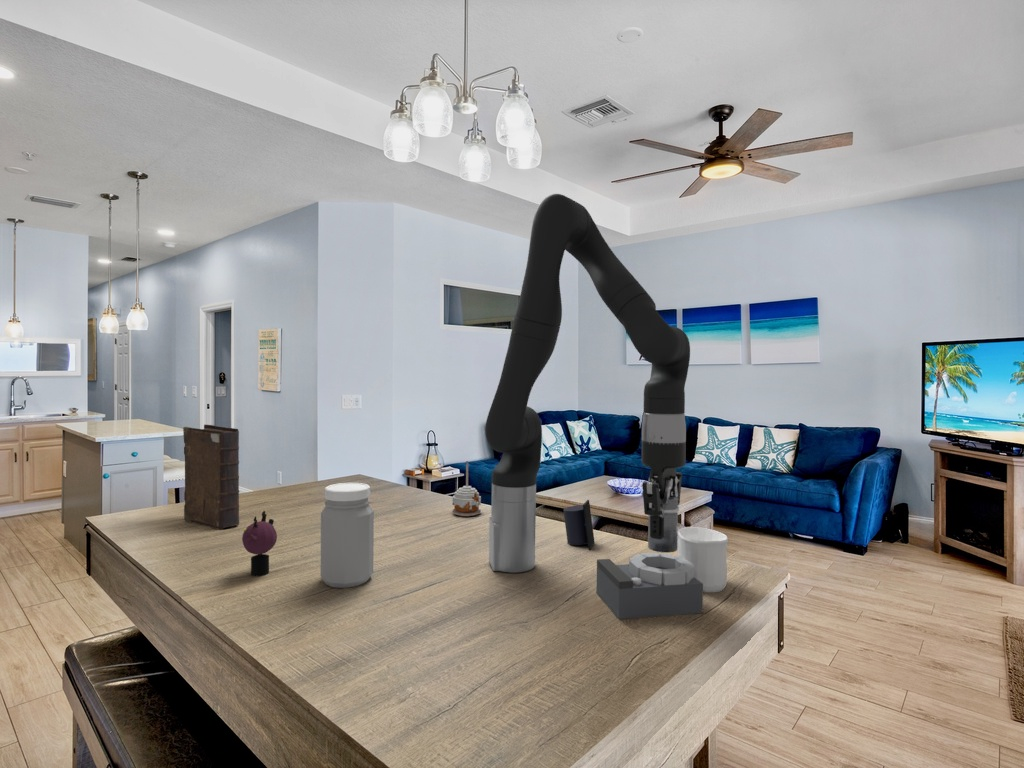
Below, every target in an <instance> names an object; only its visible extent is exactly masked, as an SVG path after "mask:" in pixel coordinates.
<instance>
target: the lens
mask: <svg viewBox="0 0 1024 768" xmlns="http://www.w3.org/2000/svg"><path fill="white" fill-rule="evenodd" d="M660 499H663V498H661V497H660ZM649 504H650V503H649ZM654 509H655V504H654ZM679 511H680V508H679V505H678V498H677V497H674V496H672V495H670V496H669V503H668V505H665V512H664V517H663V518H664V537H663V538H662V539H654V538H651V537H650V516H649V515H647V516H648V517H647V518H648V519H647V520H648V521H647V523H648V525H647V526H648V527H647V528H648V531H647V534H648V535H647V536H648V538H647V541H648V543H647V548H648V549H649V550H651V551H654V552H656V553H665V554H669V553H674V552H678V538H679V537H678V531H679V529H678V527H679V525H678V524H679V522H678V521H679V516H678V515H679V514H678V513H679Z"/></svg>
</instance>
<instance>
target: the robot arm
mask: <svg viewBox="0 0 1024 768" xmlns="http://www.w3.org/2000/svg"><path fill="white" fill-rule="evenodd" d="M532 219H533V220H532V225H531V232H530V239H529V247H528V254H527V261H526V262H527V263H526V266H525V267H526V268H525V272H524V275H523V276H524V277H523V281H522V285H521V289H520V290H521V291H520V295H519V298H518V299H519V300H518V303H517V307H516V311H515V315H514V320H513V323H512V328H511V333H510V337H509V342H508V347H507V351H506V353H505V358H504V361H503V365H502V371H501V375H500V379H499V382H498V385H497V388H496V391H495V394H494V396H493V399H492V403H491V404H490V405H491V406H490V409H489V411H488V414H487V418H486V422H485V427H484V428H485V429H484V431H485V438H486V441H487V443H488V444H489V446H490V448H492V450H494V451H496V452H499V453H502V455H501V459H500V461H499V462H498V463H497V465H496V466H495V467H494V468H493V469H492V471H491V513H490V514H491V515H490V517H489V526H488V530H489V531H488V535H489V537H488V538H489V539H488V562H489V565H490V566H491V569H492V571H493V572H503V573H523V572H528V571H531V570H533V569H534V568H535V566H536V521H537V520H536V517H537V515H536V513H537V511H536V507H537V503H536V501H537V477H538V473H539V471H540V466H541V460H542V459H541V457H542V443H543V442H542V441H543V440H542V439H543V428H542V421H541V419H540V416H539V414H538V413H537V411H536V410H534V409H533V408H532V407H530V406H528V402H529V399H530V395H531V392H532V390H533V387H534V384H535V383H536V381H537V380H538V378H539V376H540V374H541V373H542V372H543V370H544V369H545V367H546V365H547V364H548V363H549V360H551V356H552V355H553V353H554V351H555V347H556V344H557V341H558V336H559V333H560V329H561V324H562V317H563V307H562V306H563V305H562V294H561V287H560V276H561V266H562V263H563V259H564V258H563V257H564V254H565V252H567V253H568V254H570V255H571V256H572V257H573V258H575V259H576V261H578V262H579V263H580V264H581V266H582V267H583V268H584V269H585V270H586V272H587V273H588V275H589V276H590V279H591V282H592V283H593V285H594V287H595V289H596V291H597V293H598V295H599V296H600V298H601V300H602V302H603V303H604V304H605V306H606V307H607V308H608V309H609V310H610V312H611V313H612V314H613V316H614V317H615V318H616V319H617V320H618V322H619V323H621V325H622V326H623V328H624V330H625V332H626V333H627V336H628V338H629V339H630V341H631V343H632V344H633V346H634V348H635V349H636V351H637V352H638V353H639V355H640V356H641V357H642V358H643V359H644V360H645V361H647V362H648V363H650V364H651V373H650V379H649V380H648V381H646V383H645V384H644V389H643V413H642V414H643V417H642V421H641V464H642V465H644V466H645V467H649V468H650V472H649V476H648V481H643V482H642V498H643V511H644V515H647V516H648V515H649V516H650V537H651V538H654V539H662V538H663V537H664V518H663V517H664V512H665V505H668V503H669V496H670V495H672V496H674V497H677V498H678V506H679V505H680V503H681V491H682V479H683V473H682V472H681V471H680V472H678V471H677V469H680V468H683V467H684V466H685V465H686V461H687V460H686V459H687V457H686V455H687V453H686V451H687V448H686V447H687V445H686V444H687V443H686V442H687V425H686V424H687V423H686V417H685V413H686V411H685V407H686V404H685V403H686V402H685V401H686V400H685V399H686V392H685V389H686V388H685V387H686V381H687V378H688V372H689V367H690V366H689V365H690V360H691V345H690V340H689V337H688V335H687V333H686V332H685V331H684V330H682V329H681V328H679V327H676V326H671V325H669V323H668V322H666V320H664V318H663V316H662V315H661V314H660V313H659V312H658V311H657V310H656V309H657V308H656V303H655V301H654V299H653V298H652V296H651V295H650V294H649V293H648V292H647V290H645V288H644V287H643V286H642V285H641V284H640V283H639V281H638V280H637V279H636V278H635V277H634V275H633V274H632V273H631V272H630V270H628V268H627V267H626V266H625V265H624V264H623V263H622V261H621V260H620V259H619V258H618V257H617V255H616V254H615V253H614V252H613V250H612V249H611V248H610V247H611V246H609V244H608V243H607V242H606V239H604V236H603V235H602V233H601V231H600V230H599V228H598V226H597V225H596V223H595V220H593V217H592V216H591V214H590V213H589V211H588V209H587V208H586V207H585V206H584V205H582V204H581V203H579V202H577V201H575V200H573V199H572V198H570V197H568V196H566V195H564V194H561V193H552V194H549V195H548V196H545V198H543V200H542V201H541V202H540V203H539V204H538V206H537V208H536V210H535V213H534V216H533V218H532ZM660 497H661V498H663V499H660ZM649 503H650V504H649ZM654 504H655V509H654Z"/></svg>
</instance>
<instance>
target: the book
mask: <svg viewBox="0 0 1024 768" xmlns="http://www.w3.org/2000/svg"><path fill="white" fill-rule="evenodd" d="M182 429H183V430H182V432H183V433H182V434H183V444H184V446H183V454H184V492H183V495H184V496H183V499H184V506H183V507H184V508H183V520H184V521H186V522H188V523H192V524H193V523H194V524H199V525H203V526H208V527H210V528H212V529H215V530H222V529H225V528H230V527H235V526H237V525H238V526H239V525H240V504H239V503H240V501H239V500H240V490H239V489H240V487H239V486H240V482H239V481H240V479H239V478H240V475H239V474H240V473H239V469H240V468H239V464H240V460H239V459H240V457H239V455H240V454H239V452H240V445H239V444H240V439H239V438H240V436H239V435H240V431H239V429H238V428H233V427H224V426H217V425H212V424H204V425H203V428H197V427H189V426H184V427H182Z"/></svg>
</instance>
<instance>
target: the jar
mask: <svg viewBox="0 0 1024 768" xmlns="http://www.w3.org/2000/svg"><path fill="white" fill-rule="evenodd" d="M369 497H371V486H370V485H369V484H367V483H363V482H362V483H361V482H340V483H334V484H330V485H328V486H326V487H324V498H325V499H326V501H325V502H324V505H325V507H324V508H323V509H322V511H321V512H320V578H321V580H322V582H323V583H324V584H325V585H326V586H329V587H332V588H336V589H337V588H341V589H346V588H353V587H358V586H361V585H363V584H365V583H367V581H368V580H370V578H371V576H372V575H373V574H374V539H375V538H374V536H375V535H374V534H375V533H374V531H375V530H374V524H375V523H374V522H375V521H374V519H375V514H374V513H375V512H374V511H375V510H374V509H373V507H372V506H371V505H370V503H371V500H370V499H369Z"/></svg>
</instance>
